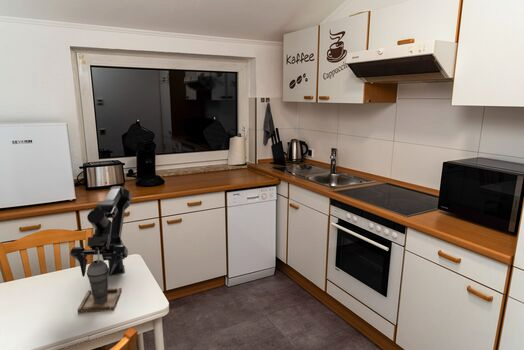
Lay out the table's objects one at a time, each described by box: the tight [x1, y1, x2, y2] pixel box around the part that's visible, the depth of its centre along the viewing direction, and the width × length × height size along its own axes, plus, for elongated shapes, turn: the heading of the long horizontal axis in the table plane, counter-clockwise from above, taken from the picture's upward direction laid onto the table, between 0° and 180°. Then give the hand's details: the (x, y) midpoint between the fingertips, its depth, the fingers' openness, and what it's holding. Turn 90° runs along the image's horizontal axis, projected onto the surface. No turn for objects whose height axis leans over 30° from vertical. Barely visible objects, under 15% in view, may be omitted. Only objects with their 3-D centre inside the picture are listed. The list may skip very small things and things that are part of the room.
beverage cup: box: [86, 250, 109, 304], centre depth 129 cm, size 7×7×20 cm
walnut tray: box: [77, 287, 123, 314], centre depth 131 cm, size 12×12×2 cm
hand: (96, 275), depth 127 cm, fingers open, 9 cm apart
